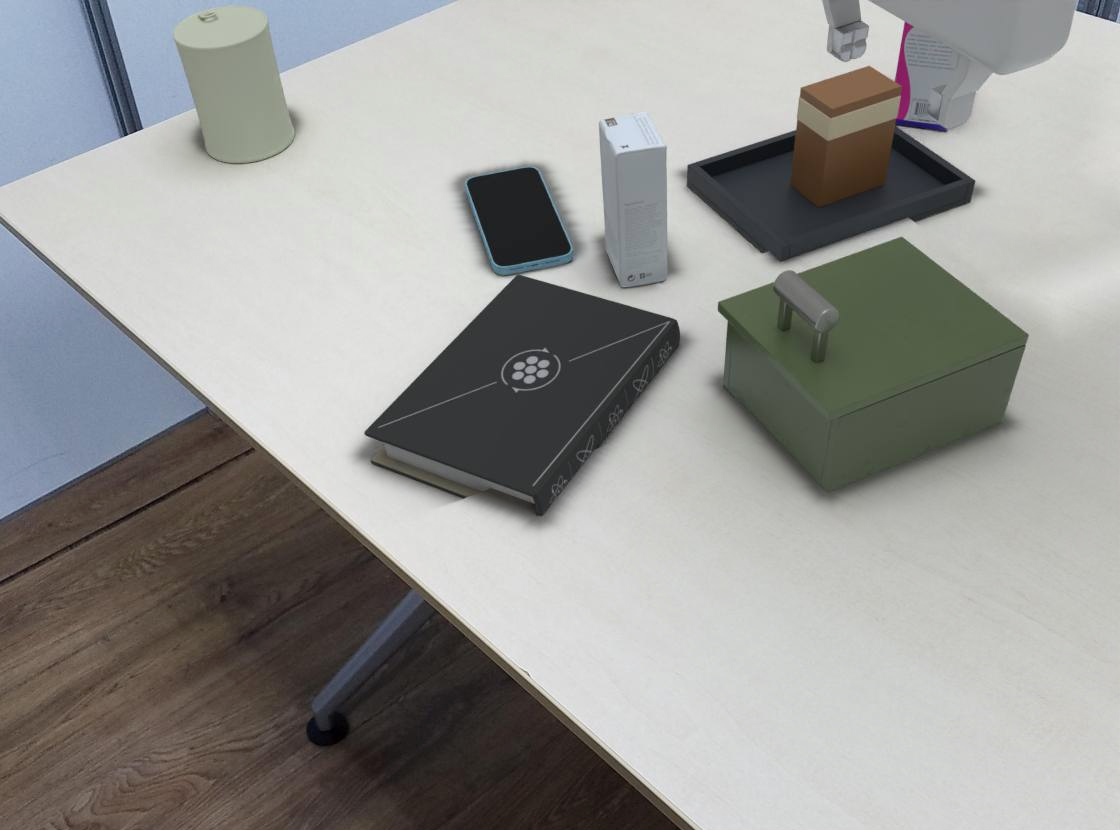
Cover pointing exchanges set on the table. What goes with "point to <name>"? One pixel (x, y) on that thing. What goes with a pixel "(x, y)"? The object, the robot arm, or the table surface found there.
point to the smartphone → (518, 220)
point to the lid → (869, 326)
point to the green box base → (869, 414)
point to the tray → (800, 226)
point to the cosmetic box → (634, 198)
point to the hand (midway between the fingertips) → (894, 87)
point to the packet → (844, 135)
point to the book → (524, 393)
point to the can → (235, 83)
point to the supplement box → (920, 76)
